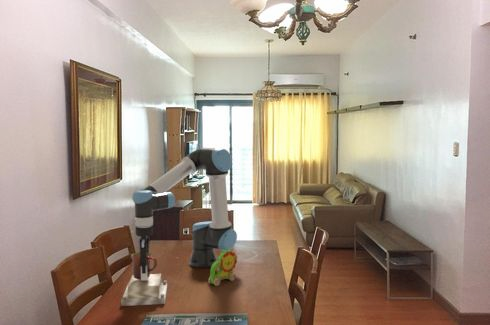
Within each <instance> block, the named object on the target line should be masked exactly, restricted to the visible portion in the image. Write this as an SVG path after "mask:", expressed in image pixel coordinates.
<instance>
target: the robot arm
mask: <svg viewBox="0 0 490 325" xmlns="http://www.w3.org/2000/svg"><path fill="white" fill-rule="evenodd" d="M232 165H233V158H232V155H231V153H230V152H229V151H228V150H227V149H225V148H220V147H199V148H198V149H194V151H191V152H189V153H188V154H186V155H185V156H184V157H183V158H182V159H181V162H179V163H177V164H176V165H175V166H173V167H172V168H171V169H169V170H168V171H167V172H165V173H164V174H162V175H161V176H160V177H159V178H157V179H156V180H155V181H154V182H151V184H149V185H148V186H146V187H144V188H143V189H142V188H140V189H136V190H135V191H134V192H133V193H132V201H133V203H134V213H135V214H134V216H135V218H133V221H134V222H135V223H134V224H135V228H134V229H135V230H134V231H135V236H136V237H140V239H139V241H138V242H139V252H140V265H139V266H141V280H148V278H147V253H148V252H149V253H150V236H152V235H153V234H154V227H153V225H154V215H153V214H154V212H156V211H162V210H169V209H172V208H173V207H174V206H175V204H176V197H175V195H174V194H173V192H171V191H169V190H170V189H172V188H173V187H175V186H176V185H177V184H178V183H179V182H181V181H182V180H184V179H185V178H186V177H187V176H189V175H190V174H195V173H196V172H198V171H202V170H205V176H206V177H207V178H208V181H209V182H208V183H209V184H208V185H209V194H210V195H209V196H210V208H211V209H210V210H211V220H210V221H208V220H207V221H202V222H196V223H194V224H193V225H192V230H191V234H192V252H191V254H190V258H189V265H190V266H191V267H194V268H205V269H206V268H211V267H212V265H213V263H214V262H216V261H217V260H218V257H217V255H216V253H215V250H218V251H224V250H230V251H231V250H232V248H233V247H234V246H235V244H236V242H237V239H238V235H237V232H236V231H235V229H233V226H232V222H230V220H229V210H228V209H229V208H228V193H227V192H228V191H227V181H226V179H227V178H226V176H227V175H228V174H229V171H230V170H231V167H232Z"/></svg>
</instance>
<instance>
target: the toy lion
mask: <svg viewBox="0 0 490 325" xmlns="http://www.w3.org/2000/svg"><path fill="white" fill-rule="evenodd" d="M237 258H238V257H237V254H236V253H235V251H232V250H231V249H230V250H222V252H220V253H219V256H218V257H217V261H216V262H214V263H213V265H212V267H210V271H209V278H208V284H210V285H214V286H215V287H218V286H220V284H221V281H222V280H225V279H226V280H229V281H231V282H234V281H235V279H236V278H237V277H236V273H233V270H234V269H235V267H236V266H237V263H238V260H237ZM218 267H219V270H218V271H217V268H218ZM216 271H217V272H216Z"/></svg>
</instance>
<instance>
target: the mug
mask: <svg viewBox="0 0 490 325" xmlns="http://www.w3.org/2000/svg"><path fill="white" fill-rule="evenodd" d="M130 257H131V260H132V275H133V276H134V278H135V279H139V280H141V266H139V265H140V251H138V252H137V251H136V252H135V253H132V254H131V255H130ZM151 260H153V261H154V262H153V263H154V264H153V268H151ZM157 266H158V260H157V258H156V257H154V256H152V253H151V252H150V251H149V252H148V253H147V278H148V277H149V276H150V274H151V272H152V271H155V270H156V268H157Z"/></svg>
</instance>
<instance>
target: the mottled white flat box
mask: <svg viewBox="0 0 490 325" xmlns="http://www.w3.org/2000/svg"><path fill="white" fill-rule="evenodd" d="M125 288H126V289H125V291H124V292H123V294H122V297H121V300H120V301H121V302H120V303H121V307H125V306H126V307H129V306H147V305H148V306H149V305H162V304H164V305H165V304H166V299H167V293H168V292H167V291H168V281H167V280H163V281H162V273H150V276H149V277H148V280H139V279H135V278H134V276H133V274H132V275H131V278H130V280H129V282H127V286H126V287H125Z"/></svg>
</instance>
